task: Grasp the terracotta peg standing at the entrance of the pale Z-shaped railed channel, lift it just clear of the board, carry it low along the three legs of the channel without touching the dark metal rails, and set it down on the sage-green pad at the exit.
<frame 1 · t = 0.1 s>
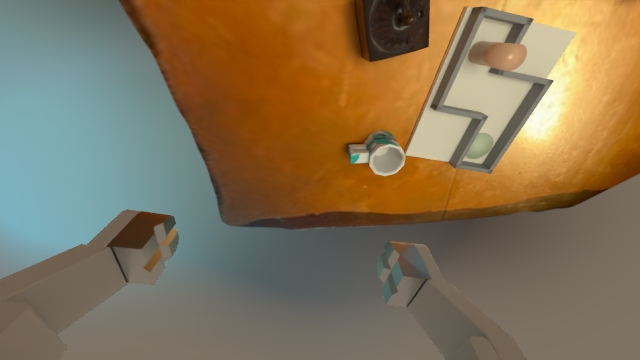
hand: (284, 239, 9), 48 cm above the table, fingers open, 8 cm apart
peg: (478, 52, 47), point 1 cm above the table, touching channel
mug: (370, 145, 60), on the table
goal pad: (474, 144, 59), resting on channel
channel: (476, 100, 53), on the table
coffee grinder: (384, 5, 44), on the table
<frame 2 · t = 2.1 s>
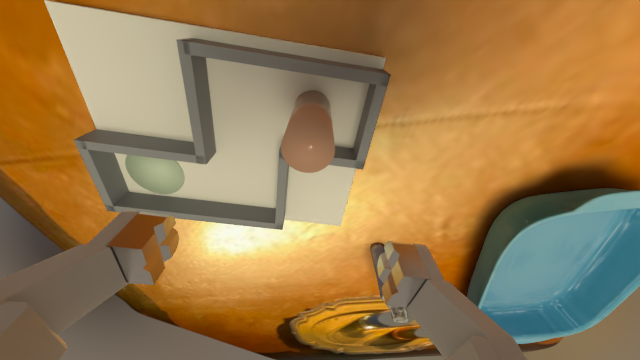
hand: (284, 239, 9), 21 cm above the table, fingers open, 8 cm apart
peg: (312, 109, 26), point 1 cm above the table, touching channel
casserole dish: (527, 252, 41), on the table
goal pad: (161, 166, 31), resting on channel
channel: (235, 139, 29), on the table
flask: (383, 257, 42), on the table
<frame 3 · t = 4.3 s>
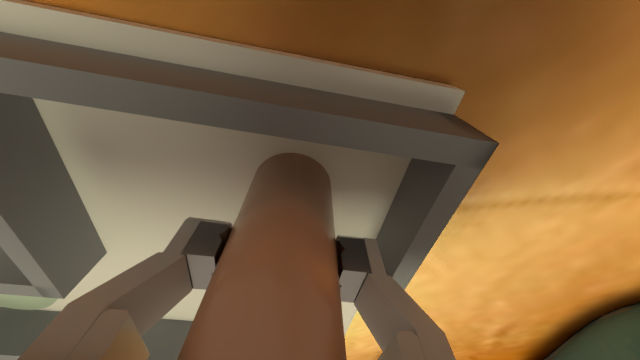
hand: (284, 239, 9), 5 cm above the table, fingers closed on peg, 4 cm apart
peg: (292, 187, 12), point 1 cm above the table, touching channel, gripper
casserole dish: (605, 356, 29), on the table
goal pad: (18, 263, 17), resting on channel
channel: (146, 225, 15), on the table
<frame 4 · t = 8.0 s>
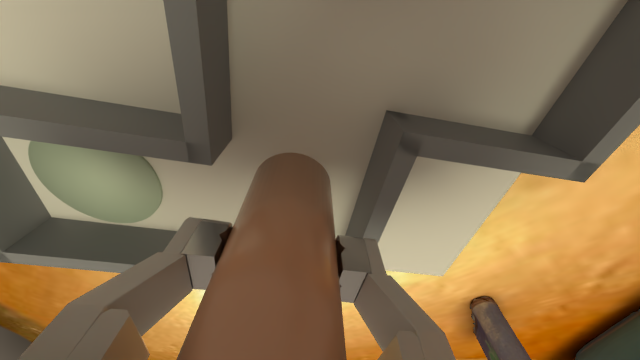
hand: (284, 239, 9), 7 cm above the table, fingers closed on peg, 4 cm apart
peg: (292, 187, 12), point 3 cm above the table, touching gripper
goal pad: (116, 168, 15), resting on channel
channel: (273, 112, 13), on the table
flask: (482, 314, 27), on the table
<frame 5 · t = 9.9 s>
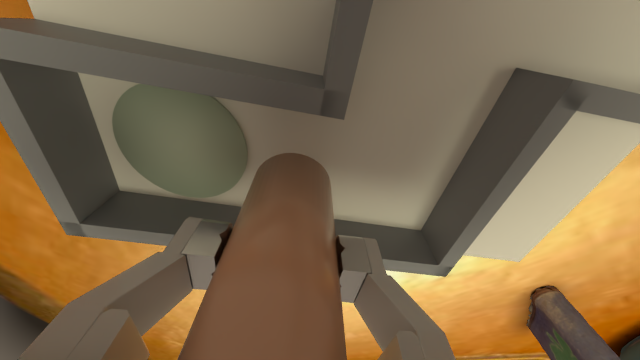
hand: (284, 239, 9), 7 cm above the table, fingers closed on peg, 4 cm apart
peg: (292, 187, 12), point 3 cm above the table, touching gripper
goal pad: (194, 137, 14), resting on channel
channel: (380, 72, 12), on the table
flask: (540, 306, 26), on the table
when the fingers open (6 cm above the table, at t = 11.8 s): peg stays where it is, resting on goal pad.
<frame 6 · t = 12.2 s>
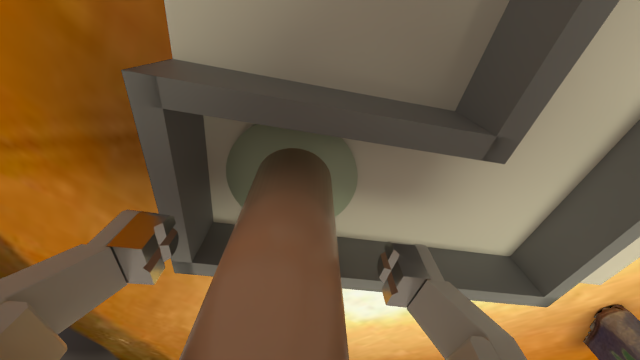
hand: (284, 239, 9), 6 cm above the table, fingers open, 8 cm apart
peg: (294, 181, 13), point 1 cm above the table, touching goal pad
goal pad: (294, 167, 14), resting on channel
channel: (502, 104, 12), on the table
flask: (601, 323, 25), on the table
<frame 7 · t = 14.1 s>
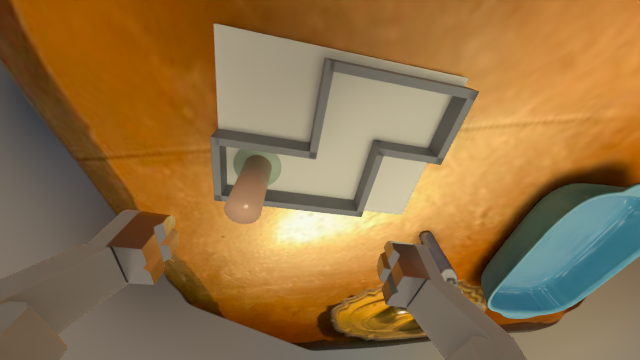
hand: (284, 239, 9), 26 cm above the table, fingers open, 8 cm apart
peg: (258, 167, 35), point 1 cm above the table, touching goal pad
casserole dish: (541, 238, 49), on the table
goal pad: (259, 162, 36), resting on channel
channel: (330, 139, 34), on the table
flask: (427, 244, 48), on the table
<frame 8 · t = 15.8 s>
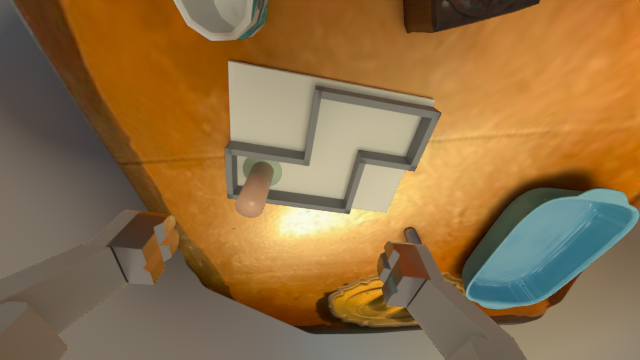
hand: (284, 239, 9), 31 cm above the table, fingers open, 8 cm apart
peg: (262, 171, 42), point 1 cm above the table, touching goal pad
casserole dish: (517, 236, 55), on the table
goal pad: (264, 167, 43), resting on channel
channel: (322, 148, 41), on the table
flask: (412, 239, 54), on the table
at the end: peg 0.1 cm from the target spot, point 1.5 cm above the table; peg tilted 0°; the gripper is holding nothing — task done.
